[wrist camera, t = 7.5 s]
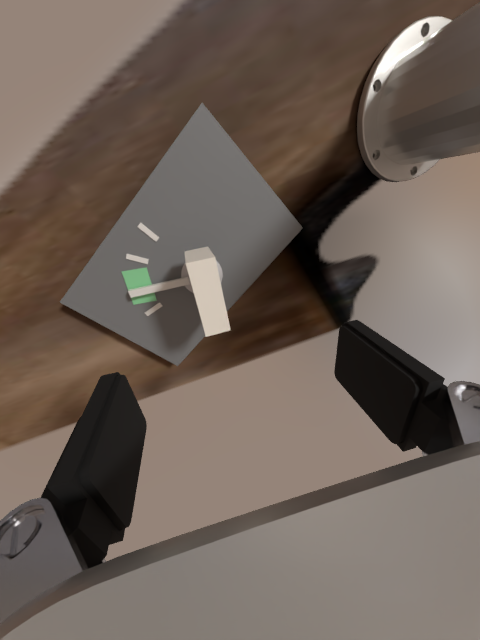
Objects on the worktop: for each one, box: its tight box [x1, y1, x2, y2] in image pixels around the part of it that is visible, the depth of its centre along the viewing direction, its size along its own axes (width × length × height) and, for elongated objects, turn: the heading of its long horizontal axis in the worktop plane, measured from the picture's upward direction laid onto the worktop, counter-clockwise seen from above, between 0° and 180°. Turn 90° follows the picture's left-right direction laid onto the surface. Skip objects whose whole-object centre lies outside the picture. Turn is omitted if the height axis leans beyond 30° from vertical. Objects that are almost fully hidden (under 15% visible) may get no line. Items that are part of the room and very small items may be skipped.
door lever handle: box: [128, 247, 230, 337], centre depth 21 cm, size 6×9×7 cm
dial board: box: [60, 103, 302, 366], centre depth 25 cm, size 22×14×2 cm, turn 136°
